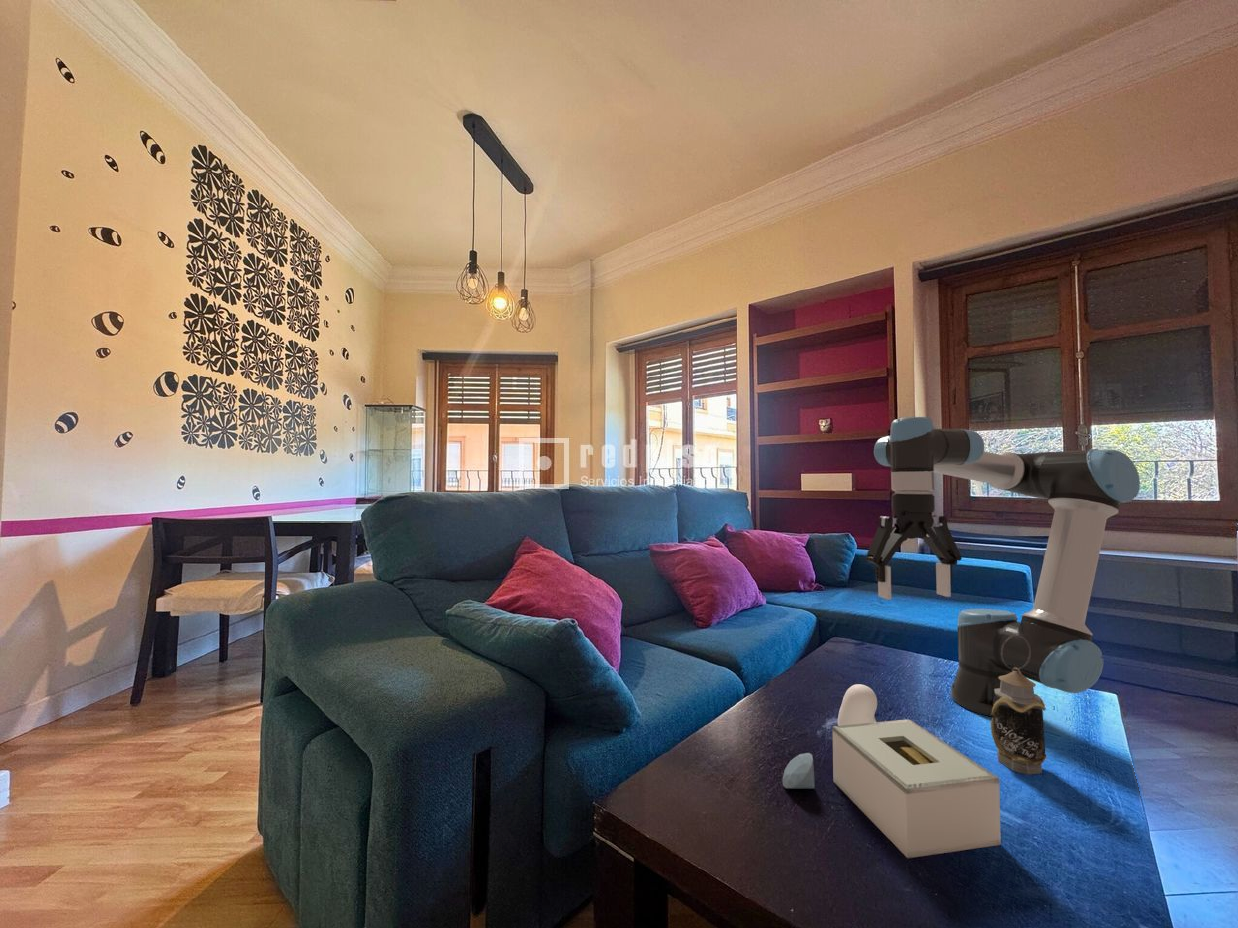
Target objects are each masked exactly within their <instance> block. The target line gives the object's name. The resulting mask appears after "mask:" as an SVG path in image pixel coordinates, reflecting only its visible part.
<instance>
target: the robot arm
mask: <svg viewBox="0 0 1238 928" xmlns="http://www.w3.org/2000/svg"><path fill="white" fill-rule="evenodd" d="M889 433H890V435H886V436H882V437H881V438H879V439H878V440H877V441H876V442H875V444H874V448H873V455H874V458H875V460H876V462H877V463H878V464H879V465H882V466H884V467H891V468H890V470H891V471H890V475H891V478H890V479H891V480H890V481H891V484H890V485H891V490H892V491H893V492H894V493H892V495H891V510H892V512H893V517H892V516H883V515H880V516H879V518H878V519H879V520H878V527H877V529H876V532H875V534H874V537H873V538H872V539H873V540H872V541H871V543H870V545H869V548H868V549H867V553H866V554H865V558H864V559H865V561H866V562H869V563H871V564H873V565H874V573H875V574H874V578H875V581H876V582H877V587H878V589H877V592H878V597H880V598H882V599H883V600H884V599H885V600H889V601H890V600H892V572H891V571H892V570H891V568H892V567H891V566H889V565H888V564H889V562H890V561H891V560H892V558H893V557H894V556H895V554H896V553H897V551H898V549H900V547H901V546H902V544H903V543H904V542H905V541H907V540H908V539H912V540H913V539H921V540H923V541H924V543H925V544H926V545H927V546H928V547H929V548H928V549H930V550H931V551H932V553H933V554H934V555H935V557H936V558H937V559H938V561H939V562H935V575H936V576H935V577H936V579H935V580H936V582H935V583H936V585H935V586H936V595H939V596H943V597H946V598H950V597H952V596H951V595H952V594H951V591H952V590H951V580H952V579H953V565H954V566H956V565H957V564H958V562H959V561H960V562H961V561H962V559H963V557H962V554H961V553H960V551H959V548H958V547H957V544H956V542H955V540H954V538H953V535H952V533H951V530H950V529H949V524H948V519H947V517H946V516H944V515H933V513H934V512H935V510H936V509H935V495H934V494H932V492H934V491H935V474H942V475H946V476H951V477H955V478H961V479H965V480H970V481H975V482H982V483H987V484H988V485H990V487H992V488H994V489H997V490H1001V491H1007V492H1009V493H1014V494H1018V495H1023V496H1025V497H1026V496H1027V497H1033V498H1036V499H1042V500H1043V499H1046V500H1047V502H1048V504H1049V506H1051V508H1053V510H1054V513H1053V517H1052V522H1051V527H1050V532H1049V534H1048V535H1049V536H1048V540H1047V545H1046V549H1045V553H1044V558H1043V562H1042V568H1041V571H1040V576H1039V580H1038V585H1037V589H1036V594H1035V597H1034V602H1033V607H1032V609H1031V610H1029V611H1027V612H1025V613H1023V614H1022V616H1021V620H1020V621H1018V620H1019V618H1018V616H1017V614H1016V613H1015V612H1012V611H1009V610H1005V609H1003V610H1002V609H995V608H993V609H992V608H991V609H989V608H967V609H962V610H961V611H959V613H958V614H957V615H958V616H957V619H958V620H957V626H956V627H957V646H958V647H957V648H958V669H957V672H956V674H955V676H954V677H955V678H954V681H953V683H952V685H951V687H950V688H951V689H950V695H951V699H952V700H953V702H955V703H956V704H958V705H959V706H961V707H963V708H965V709H967V710H969V711H972V712H974V713H977V714H980V715H984V716H987V717H992V718H993V715H991V713H992V709H993V700H994V697H995V696H996V694H995V689H1000V684H1001V680H1000V679H999V678H998V677H999V676H1003V675H1007V674H1009V673H1011V672H1012V670H1011V669H1009V668H1008V667H1010V668H1015V667H1016V668H1021V667H1022V666H1024V665H1025V664H1026V662H1027V660H1028V658H1029V647H1028V644H1027V642H1026V641H1025V640H1024V639H1023V638H1025V639H1026V640H1027V641H1028V643H1029V645H1030V648H1031V657H1030V660H1029V662H1028V664H1027V665H1026V666H1025V667H1024V668H1023V669H1020V672H1021V674H1022V675H1023V676H1025V677H1026V678H1027V679H1029V680H1030V681H1032V682H1036V683H1039V684H1042V685H1044V686H1045V687H1047V688H1050V689H1056V690H1059V691H1061V692H1063V693H1064V692H1065V693H1067V694H1079V693H1083V692H1085V691H1087V690H1088V689H1090V688H1092V687H1093V686H1094V685H1095V683H1097V681H1098V680H1099V678H1100V677H1101V674H1102V672H1103V668H1104V658H1103V657H1102V656H1103V653H1102V650H1101V649H1100V648H1099V647H1098V646H1099V645H1096V644H1095V643H1094V642H1092V639H1093V633H1092V631H1091V630H1090V629H1089V628H1088V627H1087V626H1086V619H1087V614H1088V610H1089V605H1090V601H1091V594H1092V590H1093V586H1094V581H1095V576H1096V572H1097V567H1098V562H1099V559H1100V553H1101V548H1102V542H1103V539H1104V534H1105V529H1106V524H1107V519H1109V518H1111V517H1113V516H1116V515H1118V514H1119V510H1120V506H1121V504H1122V503H1123V504H1124V503H1125V504H1126V503H1128V502H1132V501H1133V500H1135V498H1136V497H1137V496H1138V494H1139V492H1140V489H1141V483H1140V482H1141V481H1140V479H1141V478H1140V474H1139V472H1138V469H1137V466H1135V463H1134V462H1133V460H1132V459H1131V458H1130V457H1129V456H1128V455H1126V454H1125V453H1123V451H1120V450H1117V449H1097V448H1092V449H1091V448H1090V449H1087V450H1086V449H1084V450H1081V449H1080V450H1063V451H1044V452H1042V451H1041V452H1031V453H1030V452H1029V453H1014V452H1010V451H1004V452H999V453H994V452H990V451H985V441H984V439H983V437H982V435H981V434H979V433H978V432H977V431H975V430H972V429H964V428H935V426H934V422H933V419H932V418H930V417H927V416H911V417H910V416H909V417H902V418H897V419H896V418H895V419H894V420H893V421H892V422H891V425H890V432H889ZM893 527H894V528H893ZM932 527H933V528H932ZM1014 635H1019V636H1022V637H1023V638H1021V637H1012V638H1010V639H1009V640H1008V641H1007V642H1006V643H1005V645H1004V647H1003V659H1004V661H1005V663H1006V665H1007V666H1008V667H1007V666H1006V665H1005V664H1004V663H1003V661H1002V658H1001V649H1002V645H1003V643H1004V642H1005V640H1006V639H1007V638H1009V637H1011V636H1014ZM1014 671H1018V670H1014ZM1018 672H1019V671H1018Z"/></svg>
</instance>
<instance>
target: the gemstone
mask: <svg viewBox="0 0 1238 928" xmlns="http://www.w3.org/2000/svg"><path fill="white" fill-rule="evenodd" d="M814 768H815V767H814V757H813V755H812V753H810V752H805V753H799V754H798V755H796V756H795V757H794V758H792V759H791V760H790V761H789V763H787V765H786V767H785V768H784V772H783V776H782V786H783V787H784V788H785V789H813V790H814V789H815V788H816V787H815V771H814V770H815V769H814Z"/></svg>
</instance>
